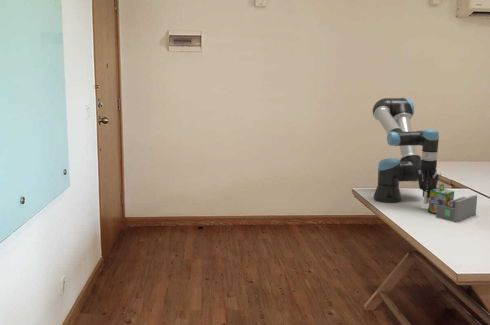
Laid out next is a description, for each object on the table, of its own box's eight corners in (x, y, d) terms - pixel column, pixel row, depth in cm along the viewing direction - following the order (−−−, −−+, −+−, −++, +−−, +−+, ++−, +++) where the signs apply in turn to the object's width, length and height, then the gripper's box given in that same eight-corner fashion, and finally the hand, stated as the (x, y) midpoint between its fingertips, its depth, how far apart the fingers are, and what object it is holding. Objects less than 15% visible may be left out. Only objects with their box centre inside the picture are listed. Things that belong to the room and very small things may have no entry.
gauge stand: (435, 217, 229) (437, 197, 228) (455, 210, 241) (456, 191, 240) (456, 222, 221) (458, 202, 219) (476, 214, 233) (477, 195, 231)
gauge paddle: (446, 217, 226) (447, 201, 224) (462, 211, 235) (463, 196, 234) (448, 217, 225) (449, 202, 223) (464, 212, 234) (465, 196, 233)
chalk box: (444, 216, 231) (448, 187, 228) (427, 211, 237) (430, 183, 234) (452, 212, 237) (456, 184, 234) (435, 208, 243) (438, 181, 240)
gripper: (413, 158, 242) (411, 201, 246) (437, 162, 232) (434, 207, 236) (421, 156, 246) (418, 199, 251) (444, 160, 236) (441, 204, 241)
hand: (426, 203), depth 243 cm, fingers closed
